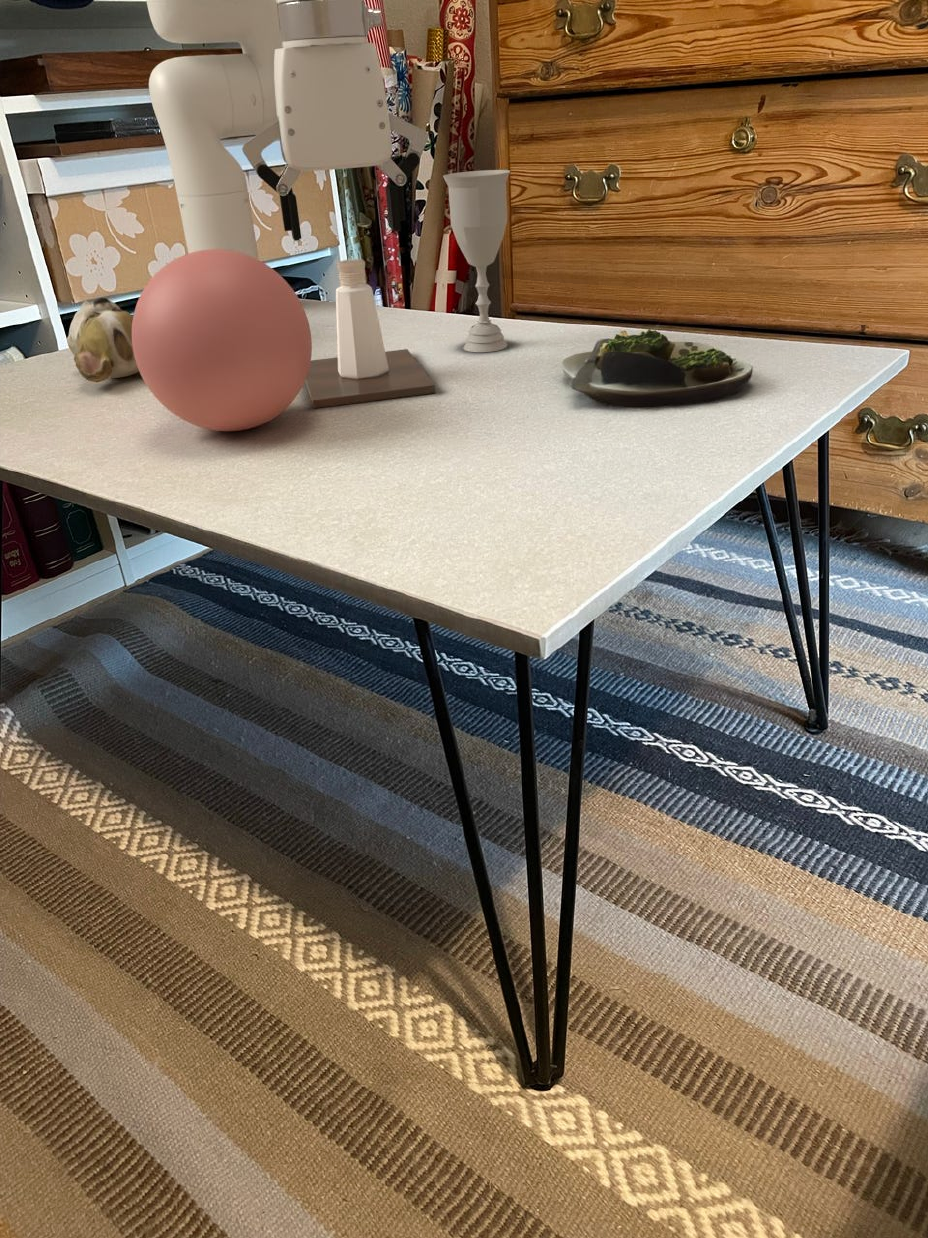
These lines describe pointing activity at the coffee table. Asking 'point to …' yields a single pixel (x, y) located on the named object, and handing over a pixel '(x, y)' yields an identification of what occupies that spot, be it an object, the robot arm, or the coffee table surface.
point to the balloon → (221, 340)
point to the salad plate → (654, 371)
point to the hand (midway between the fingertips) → (346, 233)
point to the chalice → (480, 239)
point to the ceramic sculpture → (102, 341)
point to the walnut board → (367, 381)
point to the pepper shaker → (358, 325)
